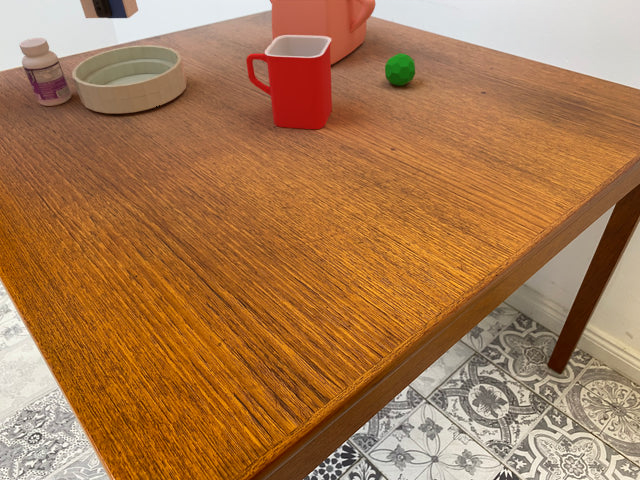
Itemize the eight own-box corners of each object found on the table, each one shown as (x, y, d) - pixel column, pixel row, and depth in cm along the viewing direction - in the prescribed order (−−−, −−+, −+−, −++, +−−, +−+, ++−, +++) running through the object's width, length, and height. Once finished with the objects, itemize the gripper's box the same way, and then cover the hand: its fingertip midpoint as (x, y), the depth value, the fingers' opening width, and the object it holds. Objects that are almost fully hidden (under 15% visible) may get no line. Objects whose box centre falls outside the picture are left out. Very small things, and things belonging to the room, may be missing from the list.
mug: (335, 105, 80) (333, 36, 74) (324, 131, 74) (320, 58, 67) (262, 101, 83) (253, 33, 76) (245, 126, 77) (234, 54, 70)
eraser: (85, 18, 78) (77, -7, 76) (96, 11, 81) (88, -14, 78) (129, 18, 77) (122, -8, 75) (138, 10, 80) (132, -15, 78)
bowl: (63, 115, 82) (51, 85, 79) (110, 72, 95) (101, 45, 92) (166, 118, 80) (158, 87, 77) (200, 73, 93) (194, 45, 90)
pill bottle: (37, 97, 88) (13, 40, 82) (70, 90, 90) (48, 33, 83) (40, 110, 84) (15, 50, 78) (74, 102, 86) (52, 43, 80)
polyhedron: (379, 87, 85) (380, 58, 82) (390, 76, 88) (391, 48, 85) (409, 92, 83) (411, 62, 80) (418, 80, 86) (420, 51, 83)
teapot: (354, 74, 89) (354, -13, 80) (251, 55, 98) (240, -25, 89) (400, 37, 102) (405, -42, 93) (305, 23, 111) (301, -50, 102)
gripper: (71, -130, 73) (108, -1, 85) (13, -117, 63) (65, 28, 74) (120, -132, 72) (152, -2, 84) (70, -120, 62) (114, 28, 73)
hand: (111, 12), depth 79 cm, fingers closed on eraser, 3 cm apart
